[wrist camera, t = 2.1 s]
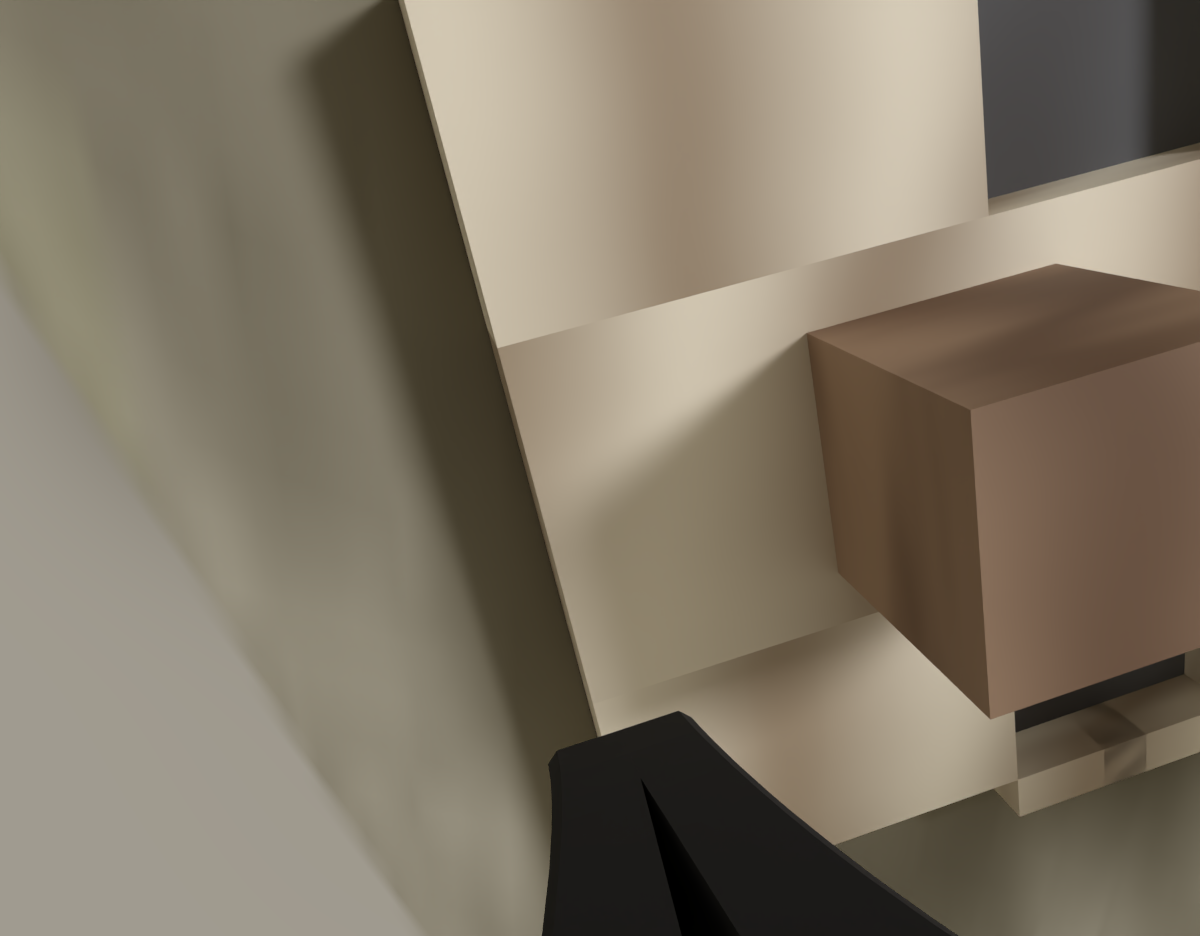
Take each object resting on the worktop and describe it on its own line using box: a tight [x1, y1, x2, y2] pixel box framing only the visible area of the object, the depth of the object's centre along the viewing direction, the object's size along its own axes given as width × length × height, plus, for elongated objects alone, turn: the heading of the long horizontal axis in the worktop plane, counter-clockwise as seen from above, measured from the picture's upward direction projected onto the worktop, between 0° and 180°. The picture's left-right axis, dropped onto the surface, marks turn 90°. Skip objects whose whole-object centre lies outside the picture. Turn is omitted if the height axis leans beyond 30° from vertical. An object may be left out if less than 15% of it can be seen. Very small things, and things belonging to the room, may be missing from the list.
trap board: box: [398, 0, 1200, 845], centre depth 16 cm, size 19×18×2 cm
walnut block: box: [807, 264, 1200, 720], centre depth 13 cm, size 4×4×4 cm
